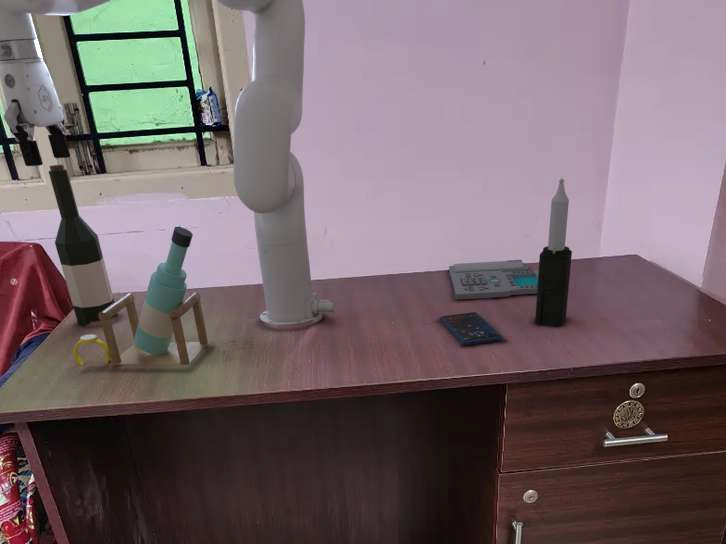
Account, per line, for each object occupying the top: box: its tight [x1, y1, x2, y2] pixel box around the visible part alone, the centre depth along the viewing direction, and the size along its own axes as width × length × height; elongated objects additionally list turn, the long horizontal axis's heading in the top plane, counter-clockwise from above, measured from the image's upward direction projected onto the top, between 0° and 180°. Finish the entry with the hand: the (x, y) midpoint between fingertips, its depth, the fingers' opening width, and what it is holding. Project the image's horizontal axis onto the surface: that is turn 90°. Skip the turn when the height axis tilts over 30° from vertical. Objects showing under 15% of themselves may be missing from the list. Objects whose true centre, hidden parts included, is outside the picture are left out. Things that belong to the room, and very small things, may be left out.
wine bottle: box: [48, 164, 119, 327], centre depth 143 cm, size 8×8×30 cm
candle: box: [534, 178, 573, 327], centre depth 128 cm, size 5×5×25 cm
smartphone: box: [439, 311, 503, 346], centre depth 133 cm, size 8×1×15 cm
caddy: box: [98, 292, 210, 366], centre depth 127 cm, size 15×11×10 cm
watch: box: [73, 333, 111, 366], centre depth 126 cm, size 6×3×6 cm, turn 93°
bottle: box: [133, 226, 194, 355], centre depth 123 cm, size 14×6×22 cm, turn 82°
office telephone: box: [448, 259, 539, 300], centre depth 157 cm, size 23×3×20 cm
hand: (48, 161), depth 133 cm, fingers open, 9 cm apart
